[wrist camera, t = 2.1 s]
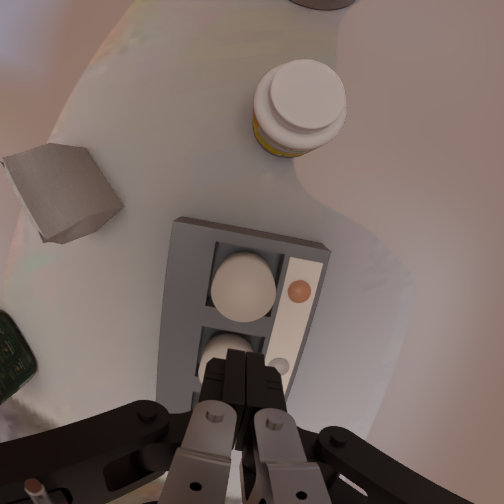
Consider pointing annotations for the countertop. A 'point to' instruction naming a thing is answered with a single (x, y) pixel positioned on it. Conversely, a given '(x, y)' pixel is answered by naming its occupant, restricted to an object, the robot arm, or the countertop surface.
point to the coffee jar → (13, 360)
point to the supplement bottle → (298, 108)
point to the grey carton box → (61, 191)
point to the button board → (214, 323)
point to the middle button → (221, 349)
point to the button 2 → (243, 287)
